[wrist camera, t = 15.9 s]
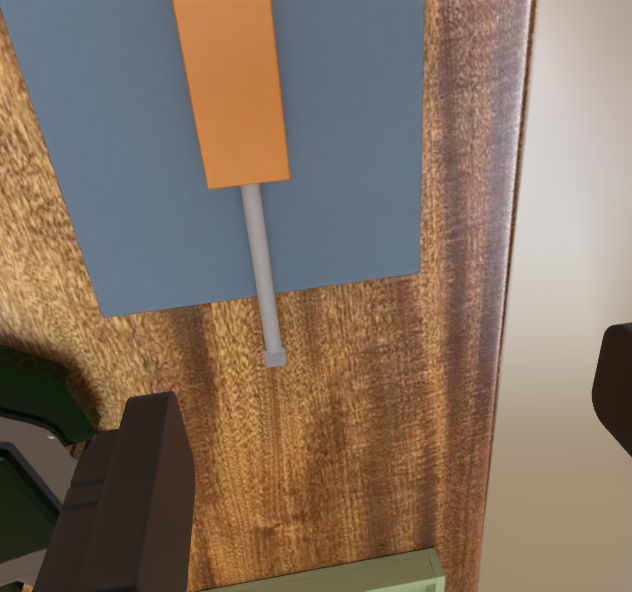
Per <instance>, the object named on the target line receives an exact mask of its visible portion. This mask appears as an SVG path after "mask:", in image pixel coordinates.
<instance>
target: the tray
mask: <svg viewBox="0 0 632 592" xmlns="http://www.w3.org/2000/svg"><path fill="white" fill-rule="evenodd" d="M444 588H445V574H444V571H443V569H442V566H441V563H440V561H439V558H438V555H437V553H436V550H435V548H429V549H423V550H418V551H413V552H407V553H402V554H397V555H391V556H386V557H381V558H375V559H370V560H365V561H359V562H354V563H349V564H343V565H338V566H333V567H327V568H322V569H317V570H311V571H306V572H301V573H295V574H290V575H285V576H279V577H274V578H269V579H263V580H258V581H253V582H247V583H242V584H237V585H231V586H226V587H221V588H215V589H210V590H205V591H199V592H444Z"/></svg>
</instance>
